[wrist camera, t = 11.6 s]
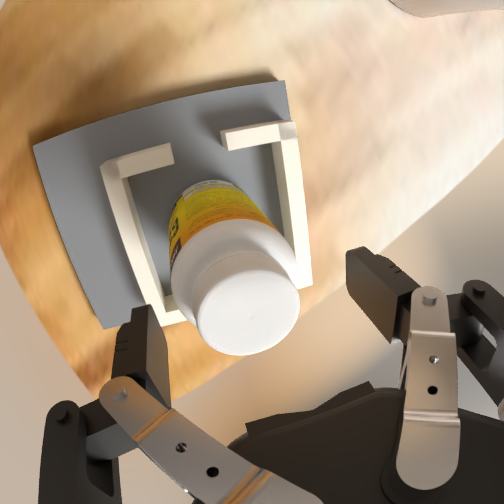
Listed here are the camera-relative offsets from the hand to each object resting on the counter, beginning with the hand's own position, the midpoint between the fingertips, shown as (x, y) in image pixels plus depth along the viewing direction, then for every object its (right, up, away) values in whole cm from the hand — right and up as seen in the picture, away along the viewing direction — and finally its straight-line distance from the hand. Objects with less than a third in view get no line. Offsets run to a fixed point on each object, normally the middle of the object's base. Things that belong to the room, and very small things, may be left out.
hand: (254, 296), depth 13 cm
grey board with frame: (-5, +4, +8) cm, 10 cm away
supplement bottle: (-3, +4, +8) cm, 9 cm away
